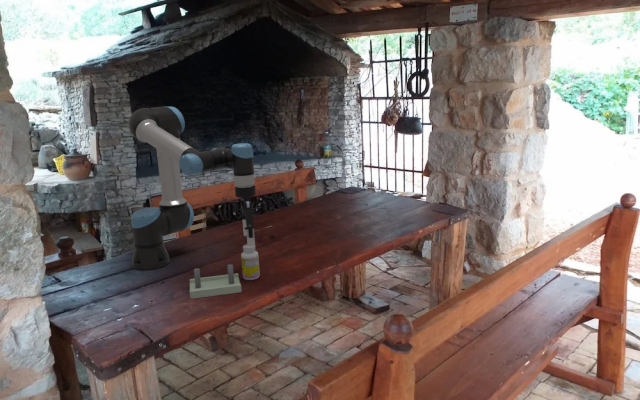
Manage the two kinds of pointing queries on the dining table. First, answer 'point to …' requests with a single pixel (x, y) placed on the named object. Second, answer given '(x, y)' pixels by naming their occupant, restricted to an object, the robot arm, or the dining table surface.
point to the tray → (214, 284)
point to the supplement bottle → (250, 263)
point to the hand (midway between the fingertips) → (249, 240)
